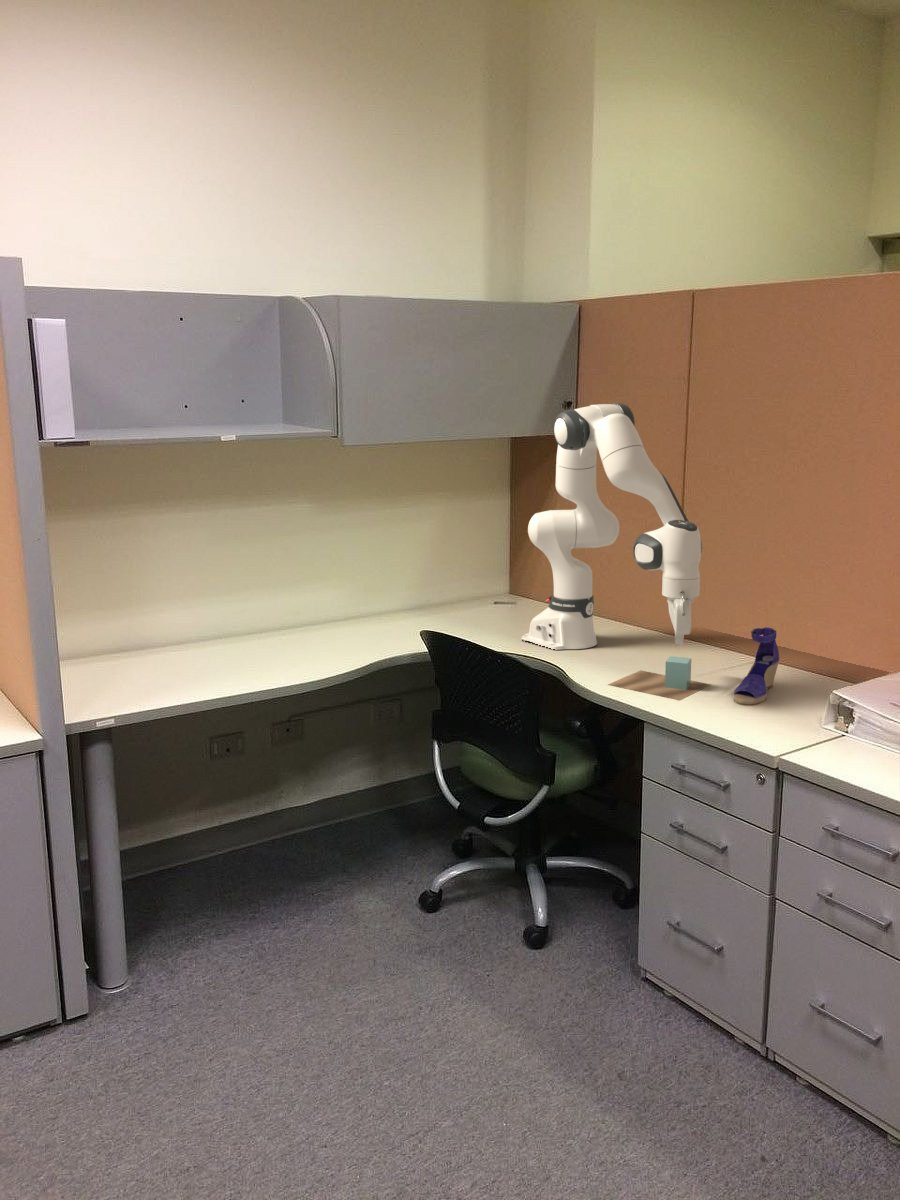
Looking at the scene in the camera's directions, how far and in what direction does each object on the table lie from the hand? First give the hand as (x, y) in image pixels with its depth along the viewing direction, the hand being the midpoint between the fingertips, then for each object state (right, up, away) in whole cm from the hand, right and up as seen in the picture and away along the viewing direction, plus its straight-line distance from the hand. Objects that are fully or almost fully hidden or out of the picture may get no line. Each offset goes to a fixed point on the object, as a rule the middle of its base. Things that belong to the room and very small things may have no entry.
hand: (679, 643), depth 244 cm
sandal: (+18, -12, -2) cm, 22 cm away
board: (-4, -11, +4) cm, 12 cm away
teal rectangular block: (0, -10, +3) cm, 11 cm away
